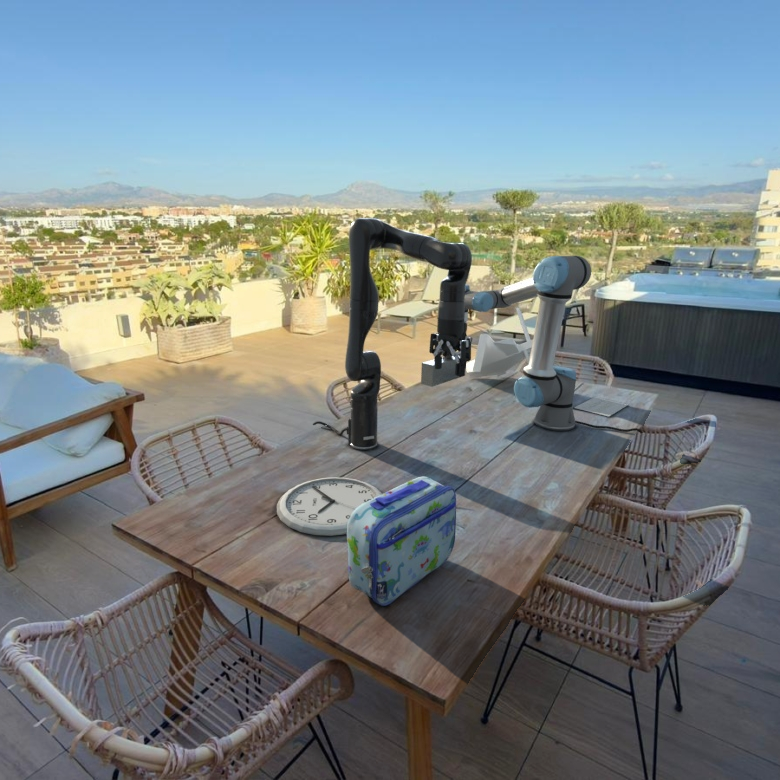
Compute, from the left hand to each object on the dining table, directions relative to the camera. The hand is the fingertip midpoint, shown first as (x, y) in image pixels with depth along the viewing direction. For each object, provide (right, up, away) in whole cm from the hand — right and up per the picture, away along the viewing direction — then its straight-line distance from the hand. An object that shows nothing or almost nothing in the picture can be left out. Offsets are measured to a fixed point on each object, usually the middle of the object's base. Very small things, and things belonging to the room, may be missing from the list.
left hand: (448, 372), depth 152 cm
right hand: (+11, +2, +74) cm, 75 cm away
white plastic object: (+39, -3, +104) cm, 111 cm away
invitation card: (+75, -13, +74) cm, 106 cm away
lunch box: (-14, -46, -38) cm, 62 cm away
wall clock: (-33, -37, -9) cm, 50 cm away
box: (+6, -1, +69) cm, 69 cm away
